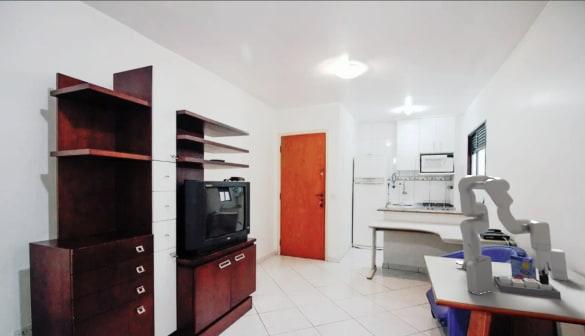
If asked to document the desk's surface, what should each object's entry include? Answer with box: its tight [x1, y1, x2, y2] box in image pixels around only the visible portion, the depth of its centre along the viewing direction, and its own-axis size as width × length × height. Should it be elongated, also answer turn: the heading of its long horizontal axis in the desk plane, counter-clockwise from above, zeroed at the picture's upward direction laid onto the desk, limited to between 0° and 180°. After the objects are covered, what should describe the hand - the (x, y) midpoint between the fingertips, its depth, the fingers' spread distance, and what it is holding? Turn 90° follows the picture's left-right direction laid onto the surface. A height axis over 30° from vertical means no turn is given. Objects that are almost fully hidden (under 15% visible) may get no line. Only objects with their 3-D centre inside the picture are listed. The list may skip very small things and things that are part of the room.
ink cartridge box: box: [509, 251, 538, 281], centre depth 150 cm, size 10×6×14 cm, turn 29°
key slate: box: [498, 275, 511, 285], centre depth 138 cm, size 4×5×3 cm
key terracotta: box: [511, 278, 525, 287], centre depth 136 cm, size 4×5×3 cm
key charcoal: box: [538, 282, 553, 290], centre depth 131 cm, size 4×5×3 cm
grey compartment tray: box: [492, 275, 562, 300], centre depth 134 cm, size 23×14×3 cm, turn 63°
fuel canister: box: [465, 244, 494, 295], centre depth 134 cm, size 15×5×25 cm, turn 113°
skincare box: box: [549, 248, 569, 282], centre depth 149 cm, size 8×7×16 cm
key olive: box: [523, 278, 538, 288], centre depth 133 cm, size 4×5×3 cm
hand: (544, 283), depth 131 cm, fingers closed
